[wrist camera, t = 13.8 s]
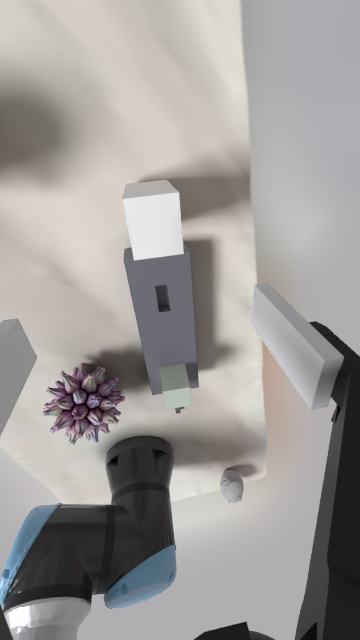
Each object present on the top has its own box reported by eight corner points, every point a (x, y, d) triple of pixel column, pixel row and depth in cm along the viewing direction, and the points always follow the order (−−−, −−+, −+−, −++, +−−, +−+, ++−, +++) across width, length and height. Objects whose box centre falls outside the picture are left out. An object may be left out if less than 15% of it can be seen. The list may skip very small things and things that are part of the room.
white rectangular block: (170, 224, 34) (183, 254, 24) (134, 228, 34) (134, 260, 24) (165, 178, 31) (179, 192, 22) (126, 182, 31) (122, 198, 21)
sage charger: (186, 380, 44) (191, 405, 40) (162, 384, 44) (165, 409, 40) (184, 363, 42) (190, 387, 38) (159, 367, 42) (162, 391, 37)
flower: (106, 405, 50) (99, 468, 41) (42, 384, 45) (16, 450, 35) (138, 365, 46) (139, 425, 36) (72, 337, 41) (52, 398, 31)
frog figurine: (215, 479, 72) (222, 508, 67) (218, 465, 69) (226, 494, 63) (236, 476, 73) (245, 505, 67) (240, 462, 69) (250, 491, 64)
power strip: (197, 405, 54) (201, 426, 50) (158, 412, 54) (160, 434, 50) (184, 241, 35) (191, 253, 31) (124, 248, 35) (123, 262, 31)
